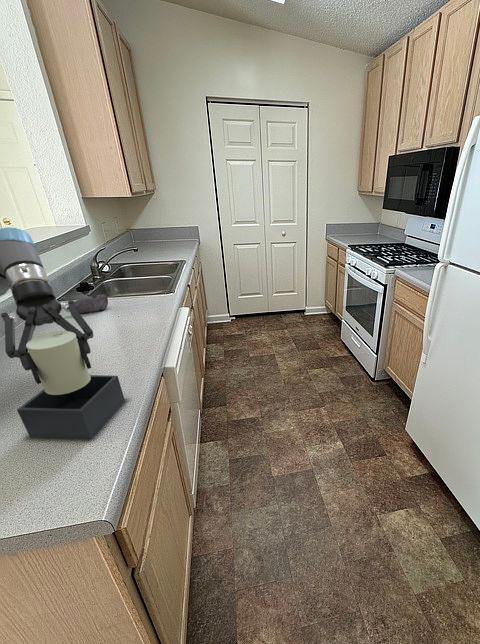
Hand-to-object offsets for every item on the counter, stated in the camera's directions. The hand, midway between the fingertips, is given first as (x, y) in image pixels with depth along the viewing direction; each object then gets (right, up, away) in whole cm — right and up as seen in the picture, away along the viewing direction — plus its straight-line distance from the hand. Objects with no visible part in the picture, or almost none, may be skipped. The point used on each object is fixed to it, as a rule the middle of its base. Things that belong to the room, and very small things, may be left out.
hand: (64, 373), depth 73 cm
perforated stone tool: (-42, +21, +76) cm, 89 cm away
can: (-2, -3, +4) cm, 5 cm away
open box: (-2, -12, +9) cm, 15 cm away
